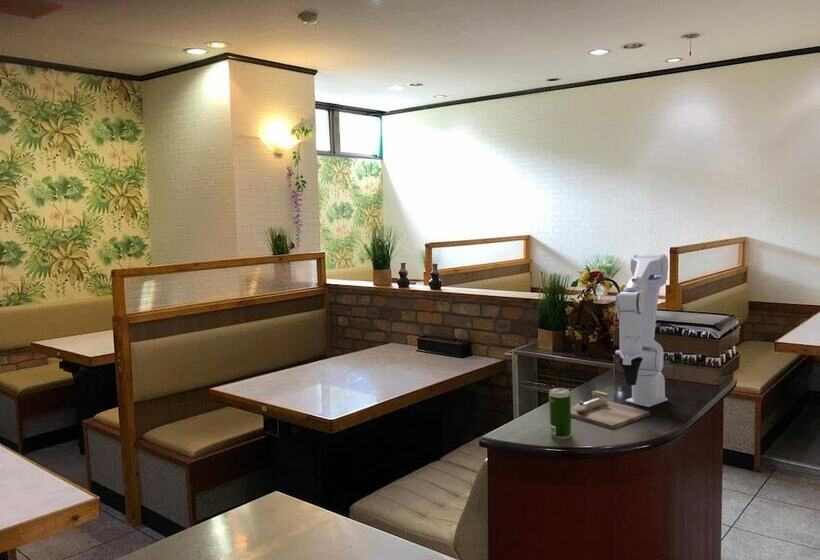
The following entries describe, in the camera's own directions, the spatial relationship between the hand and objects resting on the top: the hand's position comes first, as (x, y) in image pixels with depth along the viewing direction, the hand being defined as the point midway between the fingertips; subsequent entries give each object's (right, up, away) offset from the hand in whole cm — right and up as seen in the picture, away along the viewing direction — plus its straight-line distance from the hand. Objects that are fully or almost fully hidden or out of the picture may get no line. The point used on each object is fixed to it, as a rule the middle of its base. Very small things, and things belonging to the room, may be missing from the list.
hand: (631, 384), depth 179 cm
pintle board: (-6, -9, +5) cm, 12 cm away
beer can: (-21, -12, -9) cm, 26 cm away
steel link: (-9, -8, +8) cm, 14 cm away
